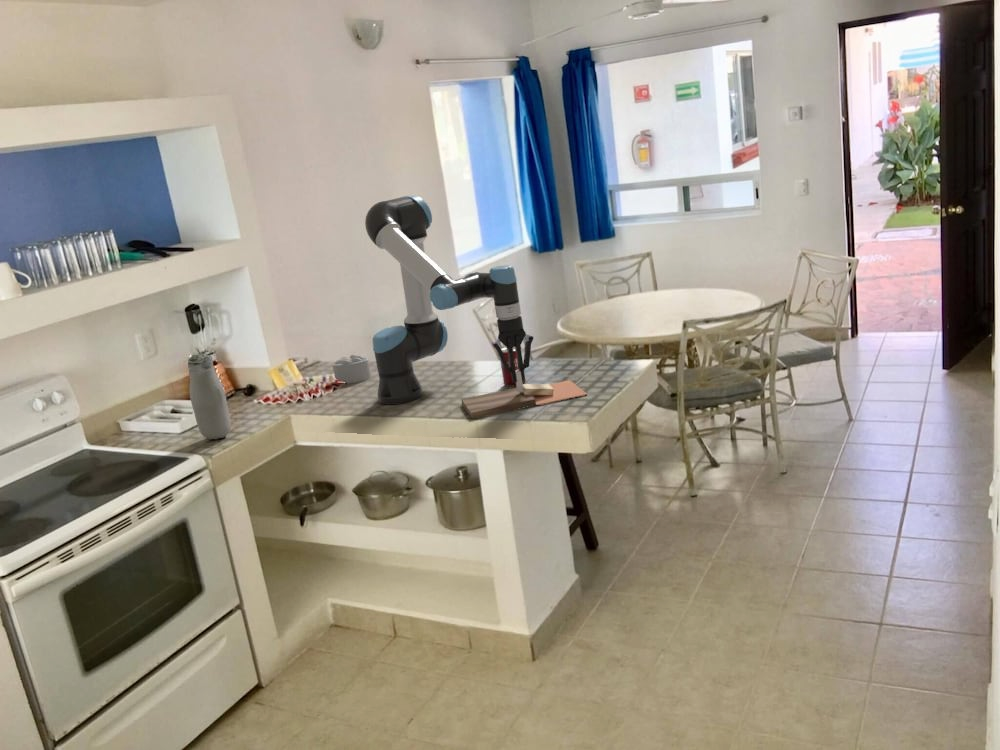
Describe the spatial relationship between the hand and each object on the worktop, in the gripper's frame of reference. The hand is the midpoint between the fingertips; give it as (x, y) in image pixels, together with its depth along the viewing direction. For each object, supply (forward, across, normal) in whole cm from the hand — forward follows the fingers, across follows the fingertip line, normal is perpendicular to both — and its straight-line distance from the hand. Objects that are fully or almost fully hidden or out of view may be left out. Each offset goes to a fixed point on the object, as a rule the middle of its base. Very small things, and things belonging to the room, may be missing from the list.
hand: (520, 391), depth 275 cm
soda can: (+3, +2, +19) cm, 20 cm away
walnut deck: (+3, -8, 0) cm, 8 cm away
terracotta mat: (+3, +10, 0) cm, 11 cm away
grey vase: (+3, -95, +28) cm, 99 cm away
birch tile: (+2, +5, 0) cm, 5 cm away
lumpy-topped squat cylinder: (+3, -48, +69) cm, 84 cm away
